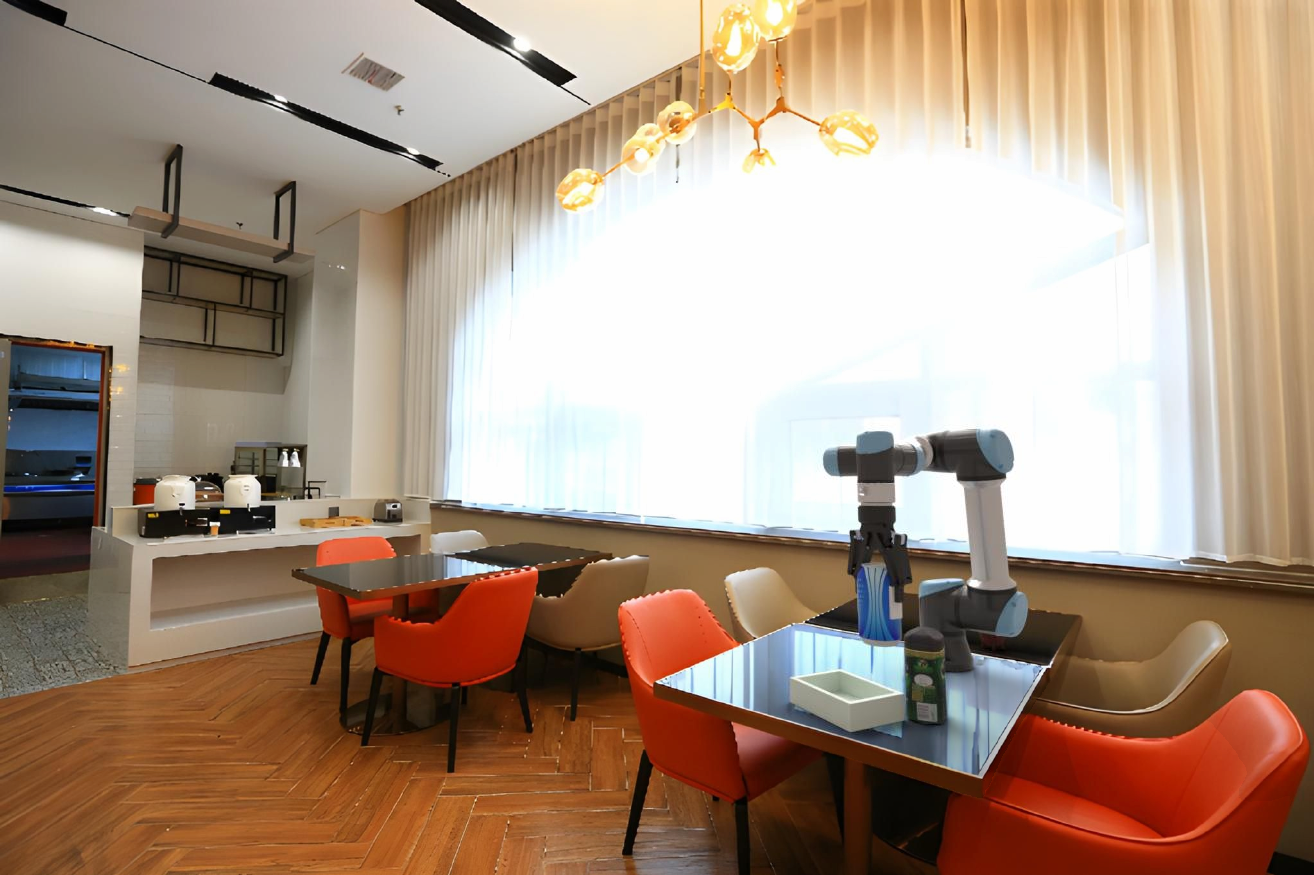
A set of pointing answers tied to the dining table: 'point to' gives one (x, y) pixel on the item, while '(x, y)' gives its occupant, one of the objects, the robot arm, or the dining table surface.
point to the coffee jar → (925, 675)
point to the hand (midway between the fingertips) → (879, 614)
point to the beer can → (876, 607)
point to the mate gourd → (992, 641)
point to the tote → (847, 699)
